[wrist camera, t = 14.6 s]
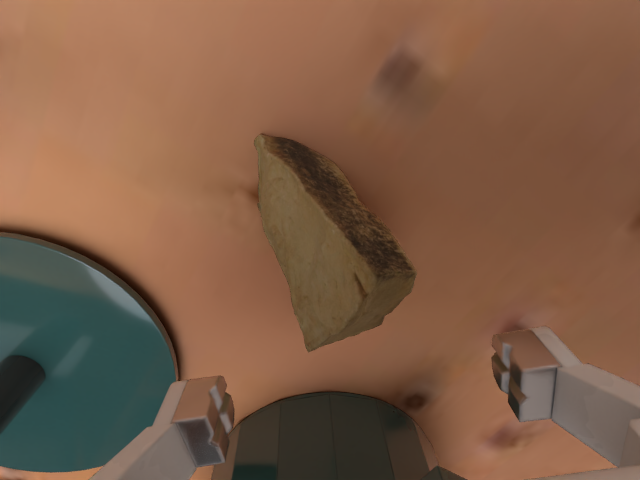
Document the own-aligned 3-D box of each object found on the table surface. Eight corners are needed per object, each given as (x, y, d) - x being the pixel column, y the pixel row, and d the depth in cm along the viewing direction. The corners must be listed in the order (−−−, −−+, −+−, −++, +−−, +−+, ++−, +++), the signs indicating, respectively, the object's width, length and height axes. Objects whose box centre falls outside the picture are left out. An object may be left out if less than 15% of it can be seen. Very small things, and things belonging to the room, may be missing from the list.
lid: (232, 324, 24) (214, 395, 19) (112, 487, 29) (72, 577, 24) (-85, 160, 19) (-228, 194, 14) (-158, 392, 25) (-281, 478, 19)
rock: (373, 367, 23) (472, 233, 18) (280, 463, 16) (402, 288, 11) (251, 256, 27) (307, 122, 22) (134, 295, 20) (180, 112, 15)
